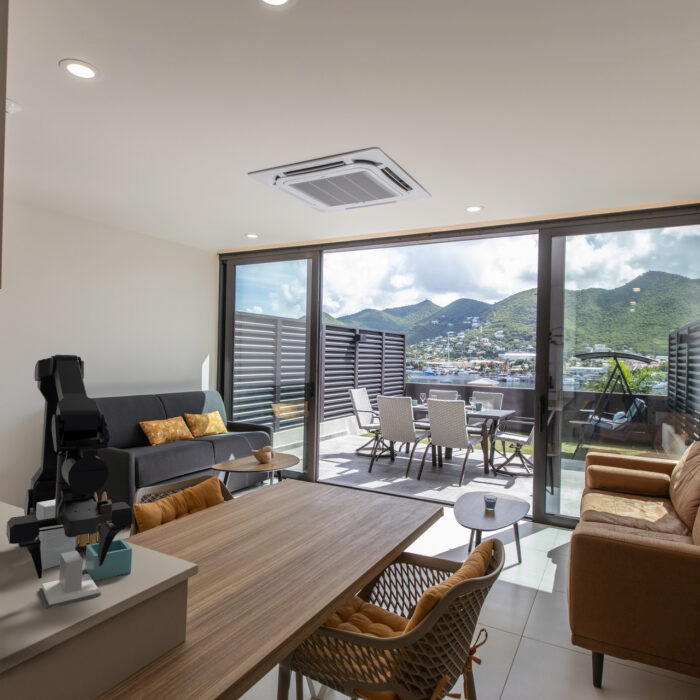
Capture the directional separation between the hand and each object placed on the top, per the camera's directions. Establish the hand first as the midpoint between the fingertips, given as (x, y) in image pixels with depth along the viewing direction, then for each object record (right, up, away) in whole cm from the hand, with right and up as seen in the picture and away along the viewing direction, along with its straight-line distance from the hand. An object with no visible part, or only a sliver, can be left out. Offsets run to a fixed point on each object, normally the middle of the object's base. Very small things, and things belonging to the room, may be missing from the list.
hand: (70, 571), depth 86 cm
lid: (0, -3, 0) cm, 3 cm away
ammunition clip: (-9, -4, +18) cm, 21 cm away
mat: (0, -4, 0) cm, 4 cm away
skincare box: (-10, -4, +12) cm, 16 cm away
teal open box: (+2, -4, +9) cm, 10 cm away
